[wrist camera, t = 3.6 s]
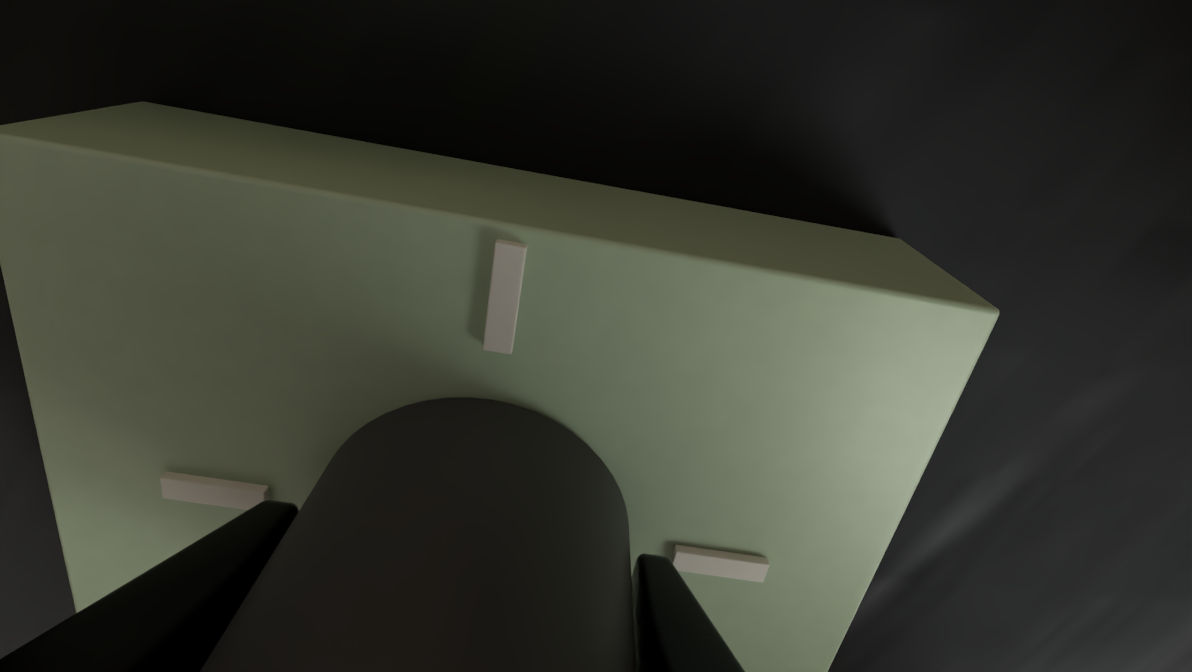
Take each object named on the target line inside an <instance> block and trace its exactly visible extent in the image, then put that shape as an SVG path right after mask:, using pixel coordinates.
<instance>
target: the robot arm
mask: <svg viewBox="0 0 1192 672" xmlns="http://www.w3.org/2000/svg"><path fill="white" fill-rule="evenodd" d="M298 512H299V509H298V506H297V505H295V504H294V503H289V502H282V501H275V500H265V501H263V502H261V503H259V504H257V505H255V506H254V507H252V508H250V509H249V510H247V511H245V512H244V513H242V514H240V515H239V516H237V517H236V518H234V519H232V520H231V521H229V522H227V523H226V524H224V525H222V526H221V527H219V528H217V529H216V530H214V531H212V532H211V533H209V534H207V535H206V536H204V537H202V538H201V539H199V540H197V541H196V542H194V543H192V544H191V545H189V546H187V547H186V548H184V549H182V550H181V551H179V552H177V553H176V554H174V555H172V556H171V557H169V558H167V559H166V560H164V561H162V562H161V563H159V564H157V565H156V566H154V567H152V568H151V569H149V570H147V571H146V572H144V573H143V574H141V575H139V576H138V577H136V578H134V579H133V580H131V581H129V582H128V583H126V584H124V585H123V586H121V587H119V588H118V589H116V590H114V591H113V592H111V593H109V594H108V595H106V596H104V597H103V598H101V599H99V600H98V601H96V602H94V603H93V604H91V605H89V606H88V607H86V608H84V609H83V610H81V611H79V612H78V613H76V614H74V615H73V616H71V617H69V618H68V619H66V620H64V621H63V622H61V623H59V624H58V625H56V626H54V627H53V628H51V629H50V630H48V631H46V632H45V633H43V634H41V635H40V636H38V637H36V638H35V639H33V640H31V641H30V642H28V643H26V644H25V645H23V646H21V647H20V648H18V649H16V650H15V651H13V652H11V653H10V654H8V655H6V656H5V657H3V658H1V659H0V672H200V670H201V669H202V667H203V665H204V664H205V662H206V661H207V659H208V657H209V656H210V654H211V653H212V651H213V649H214V648H215V646H216V644H217V643H218V641H219V640H220V638H221V636H222V635H223V633H224V632H225V630H226V628H227V627H228V625H229V623H230V622H231V620H232V619H233V617H234V615H235V614H236V612H237V611H238V609H239V607H240V606H241V604H242V602H243V601H244V599H245V598H246V596H247V594H248V593H249V591H250V590H251V588H252V586H253V585H254V583H255V581H256V580H257V578H258V577H259V575H260V573H261V572H262V570H263V569H264V567H265V565H266V564H267V562H268V560H269V559H270V557H271V556H272V554H273V552H274V551H275V549H276V548H277V546H278V544H279V543H280V541H281V539H282V538H283V536H284V535H285V533H286V531H287V530H288V528H289V527H290V525H291V523H292V522H293V520H294V518H295V517H296V515H297V514H298ZM632 593H633V610H634V628H635V646H636V663H637V672H745V671H744V669H743V668H742V666H741V665H740V663H739V662H738V660H737V659H736V657H735V656H734V654H733V653H732V651H731V650H730V648H729V647H728V645H727V644H726V642H725V641H724V639H723V638H722V636H721V635H720V633H719V632H718V630H717V629H716V627H715V626H714V624H713V623H712V621H711V620H710V618H709V617H708V615H707V614H706V612H705V611H704V609H703V608H702V606H701V605H700V604H699V602H698V601H697V599H696V598H695V596H694V595H693V593H692V592H691V590H690V589H689V587H688V586H687V584H686V583H685V581H684V580H683V578H682V577H681V575H680V574H679V572H678V571H677V569H676V568H675V566H674V565H673V563H672V562H671V560H670V559H668V558H667V557H665V556H660V555H653V554H646V553H642V554H640V555H639V556H638V558H637V560H636V563H635V567H634V570H633V574H632Z"/></svg>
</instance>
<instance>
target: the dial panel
mask: <svg viewBox="0 0 1192 672" xmlns="http://www.w3.org/2000/svg"><path fill="white" fill-rule="evenodd" d="M0 265H1V269H2V274H3V278H4V283H5V288H6V292H7V297H8V301H9V306H10V311H11V315H12V320H13V324H14V329H15V334H16V338H17V343H18V347H19V352H20V357H21V361H22V366H23V370H24V375H25V380H26V384H27V389H28V393H29V398H30V403H31V407H32V412H33V416H34V421H35V426H36V430H37V435H38V439H39V444H40V449H41V453H42V458H43V462H44V467H45V472H46V476H47V481H48V485H49V490H50V495H51V499H52V504H53V508H54V513H55V518H56V522H57V527H58V531H59V536H60V541H61V545H62V550H63V554H64V559H65V564H66V568H67V573H68V577H69V582H70V587H71V591H72V596H73V600H74V605H75V610H76V613H78V612H79V611H81V610H83V609H84V608H86V607H88V606H89V605H91V604H93V603H94V602H96V601H98V600H99V599H101V598H103V597H104V596H106V595H108V594H109V593H111V592H113V591H114V590H116V589H118V588H119V587H121V586H123V585H124V584H126V583H128V582H129V581H131V580H133V579H134V578H136V577H138V576H139V575H141V574H143V573H144V572H146V571H147V570H149V569H151V568H152V567H154V566H156V565H157V564H159V563H161V562H162V561H164V560H166V559H167V558H169V557H171V556H172V555H174V554H176V553H177V552H179V551H181V550H182V549H184V548H186V547H187V546H189V545H191V544H192V543H194V542H196V541H197V540H199V539H201V538H202V537H204V536H206V535H207V534H209V533H211V532H212V531H214V530H216V529H217V528H219V527H221V526H222V525H224V524H226V523H227V522H229V521H231V520H232V519H234V518H236V517H237V516H239V515H240V514H242V513H244V512H245V511H247V510H249V509H250V508H252V507H254V506H255V505H257V504H259V503H261V502H263V501H265V500H275V501H282V502H289V503H294V504H295V505H297V506H298V509H299V510H300V509H301V507H302V506H303V504H304V502H305V501H306V499H307V497H308V496H309V494H310V493H311V491H312V489H313V488H314V486H315V484H316V483H317V481H318V480H319V478H320V476H321V475H322V473H323V472H324V470H325V468H326V467H327V465H328V463H329V462H330V460H331V459H332V458H333V456H334V455H335V453H336V452H337V450H338V449H339V448H340V447H341V446H342V444H343V443H344V442H345V441H346V440H347V439H348V438H349V437H350V436H351V435H352V434H354V433H355V432H356V431H358V430H359V429H360V428H361V427H363V426H364V425H365V424H367V423H369V422H370V421H372V420H374V419H376V418H378V417H379V416H381V415H383V414H385V413H387V412H390V411H393V410H395V409H398V408H400V407H403V406H405V405H409V404H413V403H417V402H421V401H425V400H432V399H440V398H449V397H472V398H482V399H492V400H496V401H501V402H506V403H510V404H514V405H517V406H520V407H523V408H526V409H529V410H532V411H535V412H537V413H539V414H541V415H543V416H545V417H548V418H550V419H552V420H554V421H555V422H557V423H559V424H560V425H562V426H564V427H565V428H567V429H568V430H570V431H571V432H573V433H574V434H575V435H576V436H578V437H579V438H580V439H581V440H583V441H584V442H585V443H586V444H587V445H588V446H589V447H590V448H591V449H592V450H593V451H594V452H595V453H596V454H597V455H598V456H599V457H600V458H601V460H602V461H603V462H604V464H605V465H606V466H607V468H608V469H609V471H610V472H611V473H612V475H613V477H614V479H615V481H616V483H617V484H618V486H619V488H620V490H621V493H622V496H623V499H624V502H625V505H626V510H627V516H628V522H629V540H630V557H631V575H632V574H633V570H634V567H635V563H636V560H637V558H638V556H639V555H640V554H642V553H646V554H653V555H660V556H665V557H667V558H668V559H670V560H671V562H672V563H673V565H674V566H675V568H676V569H677V571H678V572H679V574H680V575H681V577H682V578H683V580H684V581H685V583H686V584H687V586H688V587H689V589H690V590H691V592H692V593H693V595H694V596H695V598H696V599H697V601H698V602H699V604H700V605H701V606H702V608H703V609H704V611H705V612H706V614H707V615H708V617H709V618H710V620H711V621H712V623H713V624H714V626H715V627H716V629H717V630H718V632H719V633H720V635H721V636H722V638H723V639H724V641H725V642H726V644H727V645H728V647H729V648H730V650H731V651H732V653H733V654H734V656H735V657H736V659H737V660H738V662H739V663H740V665H741V666H742V668H743V669H744V671H745V672H828V670H829V668H830V666H831V664H832V661H833V659H834V657H835V655H836V653H837V651H838V649H839V647H840V645H841V643H842V641H843V639H844V636H845V634H846V632H847V630H848V628H849V626H850V624H851V622H852V620H853V618H854V616H855V614H856V612H857V609H858V607H859V605H860V603H861V601H862V599H863V597H864V595H865V593H866V591H867V589H868V587H869V585H870V582H871V580H872V578H873V576H874V574H875V572H876V570H877V568H878V566H879V564H880V562H881V560H882V557H883V555H884V553H885V551H886V549H887V547H888V545H889V543H890V541H891V539H892V537H893V535H894V533H895V530H896V528H897V526H898V524H899V522H900V520H901V518H902V516H903V514H904V512H905V510H906V508H907V505H908V503H909V501H910V499H911V497H912V495H913V493H914V491H915V489H916V487H917V485H918V483H919V481H920V478H921V476H922V474H923V472H924V470H925V468H926V466H927V464H928V462H929V460H930V458H931V456H932V453H933V451H934V449H935V447H936V445H937V443H938V441H939V439H940V437H941V435H942V433H943V431H944V429H945V426H946V424H947V422H948V420H949V418H950V416H951V414H952V412H953V410H954V408H955V406H956V404H957V401H958V399H959V397H960V395H961V393H962V391H963V389H964V387H965V385H966V383H967V381H968V379H969V377H970V374H971V372H972V370H973V368H974V366H975V364H976V362H977V360H978V358H979V356H980V354H981V352H982V350H983V347H984V345H985V343H986V341H987V339H988V337H989V335H990V333H991V331H992V329H993V327H994V325H995V322H996V320H997V318H998V316H999V310H998V309H997V308H996V307H994V306H993V305H992V304H990V303H989V302H987V301H986V300H985V299H983V298H982V297H980V296H979V295H978V294H976V293H975V292H973V291H972V290H971V289H969V288H968V287H966V286H965V285H964V284H962V283H961V282H959V281H958V280H957V279H955V278H954V277H953V276H951V275H950V274H948V273H947V272H946V271H944V270H943V269H941V268H940V267H939V266H937V265H936V264H934V263H933V262H932V261H930V260H929V259H927V258H926V257H925V256H923V255H922V254H920V253H919V252H918V251H916V250H915V249H913V248H912V247H911V246H909V245H908V244H906V243H905V242H904V241H902V240H901V239H898V238H893V237H887V236H882V235H876V234H871V233H865V232H860V231H854V230H849V229H843V228H838V227H832V226H827V225H821V224H816V223H810V222H805V221H799V220H794V219H788V218H783V217H777V216H772V215H766V214H761V213H755V212H750V211H744V210H739V209H733V208H727V207H722V206H716V205H711V204H705V203H700V202H694V201H689V200H683V199H678V198H672V197H667V196H661V195H656V194H650V193H645V192H639V191H634V190H628V189H623V188H617V187H612V186H606V185H601V184H595V183H590V182H584V181H579V180H573V179H568V178H562V177H557V176H551V175H546V174H540V173H535V172H529V171H524V170H518V169H513V168H507V167H502V166H496V165H491V164H485V163H480V162H474V161H469V160H463V159H458V158H452V157H447V156H441V155H435V154H430V153H424V152H419V151H413V150H408V149H402V148H397V147H391V146H386V145H380V144H375V143H369V142H364V141H358V140H353V139H347V138H342V137H336V136H331V135H325V134H320V133H314V132H309V131H303V130H298V129H292V128H287V127H281V126H276V125H270V124H265V123H259V122H254V121H248V120H243V119H237V118H232V117H226V116H221V115H215V114H210V113H204V112H199V111H193V110H188V109H182V108H177V107H171V106H166V105H160V104H155V103H149V102H143V101H142V102H136V103H130V104H124V105H118V106H112V107H106V108H100V109H94V110H88V111H82V112H77V113H71V114H65V115H59V116H53V117H47V118H41V119H35V120H29V121H23V122H17V123H11V124H5V125H0Z"/></svg>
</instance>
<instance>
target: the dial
mask: <svg viewBox="0 0 1192 672" xmlns="http://www.w3.org/2000/svg"><path fill="white" fill-rule="evenodd" d="M200 672H637V663H636V646H635V628H634V610H633V593H632V575H631V557H630V540H629V522H628V516H627V510H626V505H625V502H624V499H623V496H622V493H621V490H620V488H619V486H618V484H617V483H616V481H615V479H614V477H613V475H612V473H611V472H610V471H609V469H608V468H607V466H606V465H605V464H604V462H603V461H602V460H601V458H600V457H599V456H598V455H597V454H596V453H595V452H594V451H593V450H592V449H591V448H590V447H589V446H588V445H587V444H586V443H585V442H584V441H583V440H581V439H580V438H579V437H578V436H576V435H575V434H574V433H573V432H571V431H570V430H568V429H567V428H565V427H564V426H562V425H560V424H559V423H557V422H555V421H554V420H552V419H550V418H548V417H545V416H543V415H541V414H539V413H537V412H535V411H532V410H529V409H526V408H523V407H520V406H517V405H514V404H510V403H506V402H501V401H496V400H492V399H482V398H472V397H449V398H440V399H432V400H425V401H421V402H417V403H413V404H409V405H405V406H403V407H400V408H398V409H395V410H393V411H390V412H387V413H385V414H383V415H381V416H379V417H378V418H376V419H374V420H372V421H370V422H369V423H367V424H365V425H364V426H363V427H361V428H360V429H359V430H358V431H356V432H355V433H354V434H352V435H351V436H350V437H349V438H348V439H347V440H346V441H345V442H344V443H343V444H342V446H341V447H340V448H339V449H338V450H337V452H336V453H335V455H334V456H333V458H332V459H331V460H330V462H329V463H328V465H327V467H326V468H325V470H324V472H323V473H322V475H321V476H320V478H319V480H318V481H317V483H316V484H315V486H314V488H313V489H312V491H311V493H310V494H309V496H308V497H307V499H306V501H305V502H304V504H303V506H302V507H301V509H300V510H299V512H298V514H297V515H296V517H295V518H294V520H293V522H292V523H291V525H290V527H289V528H288V530H287V531H286V533H285V535H284V536H283V538H282V539H281V541H280V543H279V544H278V546H277V548H276V549H275V551H274V552H273V554H272V556H271V557H270V559H269V560H268V562H267V564H266V565H265V567H264V569H263V570H262V572H261V573H260V575H259V577H258V578H257V580H256V581H255V583H254V585H253V586H252V588H251V590H250V591H249V593H248V594H247V596H246V598H245V599H244V601H243V602H242V604H241V606H240V607H239V609H238V611H237V612H236V614H235V615H234V617H233V619H232V620H231V622H230V623H229V625H228V627H227V628H226V630H225V632H224V633H223V635H222V636H221V638H220V640H219V641H218V643H217V644H216V646H215V648H214V649H213V651H212V653H211V654H210V656H209V657H208V659H207V661H206V662H205V664H204V665H203V667H202V669H201V670H200Z"/></svg>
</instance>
